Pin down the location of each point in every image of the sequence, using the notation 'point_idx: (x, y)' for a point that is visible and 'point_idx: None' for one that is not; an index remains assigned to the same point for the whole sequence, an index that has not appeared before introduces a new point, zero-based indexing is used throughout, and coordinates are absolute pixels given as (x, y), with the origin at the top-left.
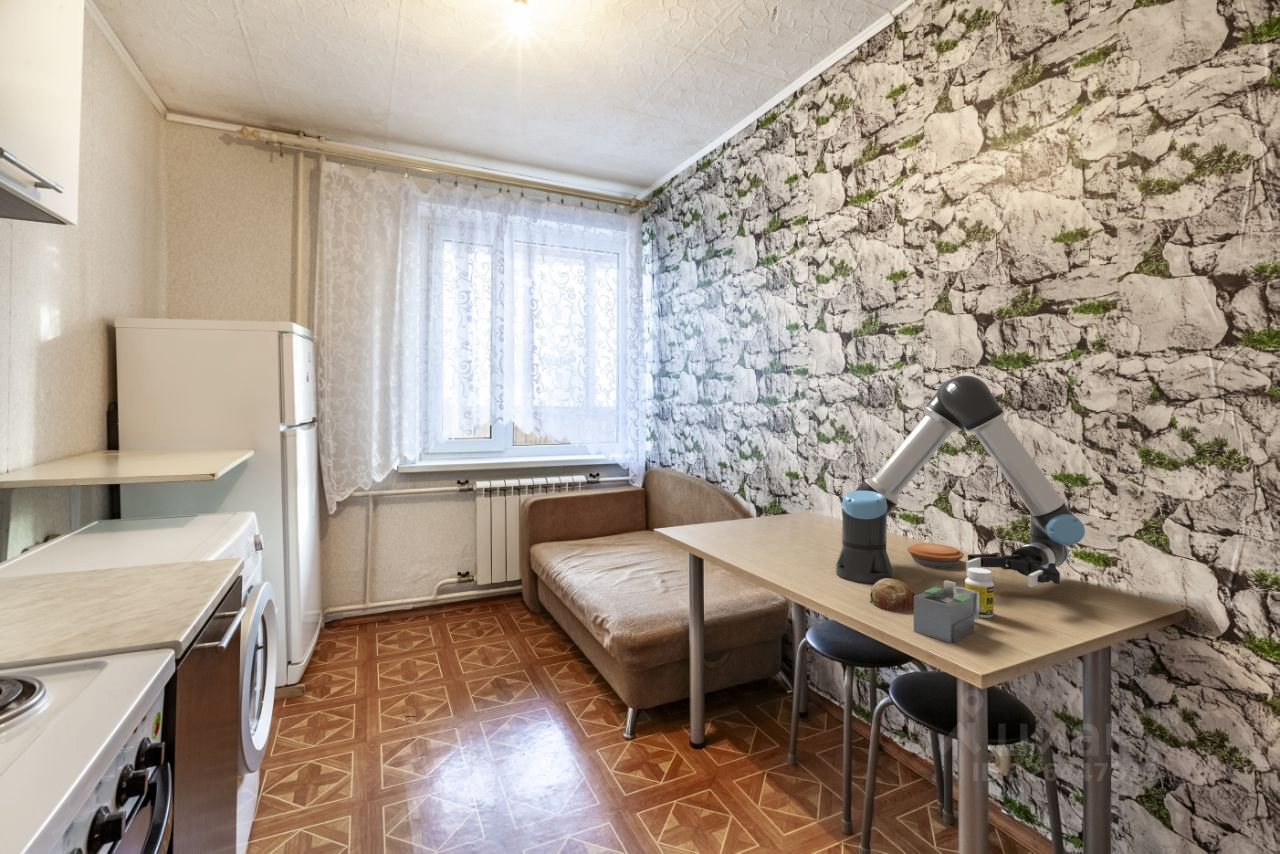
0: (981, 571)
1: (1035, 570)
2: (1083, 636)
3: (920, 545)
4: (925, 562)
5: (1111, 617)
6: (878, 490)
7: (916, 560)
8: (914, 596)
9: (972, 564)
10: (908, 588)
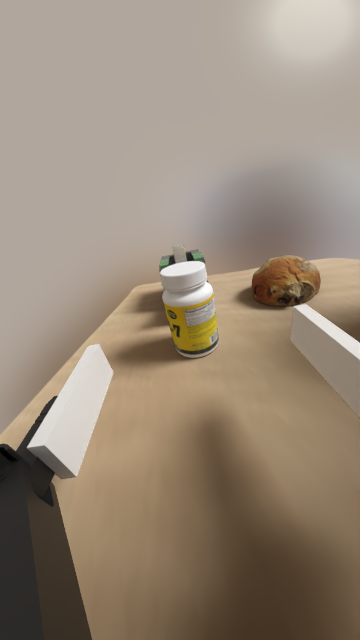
0: (175, 267)
1: (63, 609)
2: (47, 390)
3: None
4: None
5: None
6: None
7: None
8: (197, 249)
9: (309, 333)
10: (265, 274)
